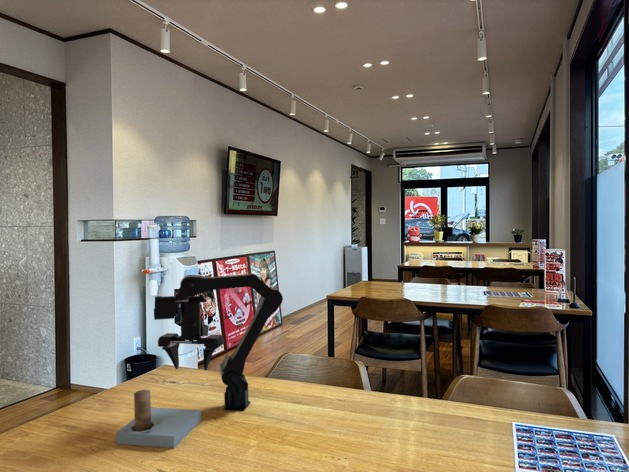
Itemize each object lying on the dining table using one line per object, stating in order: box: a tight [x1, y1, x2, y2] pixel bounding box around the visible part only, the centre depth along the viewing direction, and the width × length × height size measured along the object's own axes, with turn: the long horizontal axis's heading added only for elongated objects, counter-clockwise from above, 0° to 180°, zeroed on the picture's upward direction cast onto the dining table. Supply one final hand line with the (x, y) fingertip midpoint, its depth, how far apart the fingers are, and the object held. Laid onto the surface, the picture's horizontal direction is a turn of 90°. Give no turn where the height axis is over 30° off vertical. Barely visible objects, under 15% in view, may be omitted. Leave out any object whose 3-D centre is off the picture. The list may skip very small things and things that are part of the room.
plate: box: [115, 406, 202, 449], centre depth 119 cm, size 16×16×3 cm
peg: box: [133, 389, 152, 432], centre depth 116 cm, size 4×4×12 cm
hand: (191, 369), depth 132 cm, fingers open, 9 cm apart
